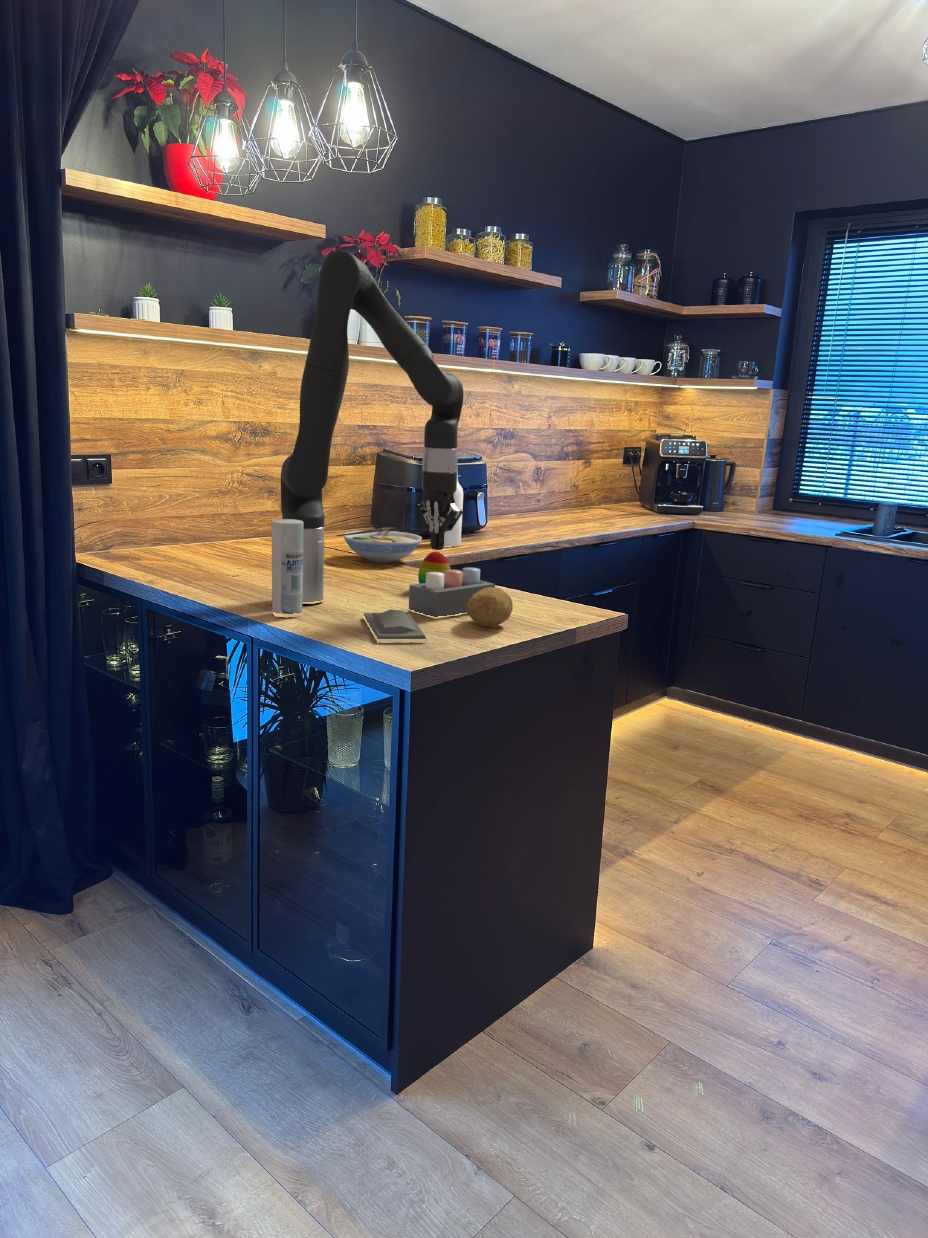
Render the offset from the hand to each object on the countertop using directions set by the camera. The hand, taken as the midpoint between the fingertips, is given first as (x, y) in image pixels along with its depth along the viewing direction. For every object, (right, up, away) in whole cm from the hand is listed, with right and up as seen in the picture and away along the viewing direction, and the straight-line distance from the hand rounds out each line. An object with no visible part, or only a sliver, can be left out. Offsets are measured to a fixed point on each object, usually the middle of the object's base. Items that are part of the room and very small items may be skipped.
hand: (437, 549), depth 192 cm
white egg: (-1, -11, +2) cm, 11 cm away
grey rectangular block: (+3, -13, +7) cm, 15 cm away
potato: (+11, -17, -5) cm, 21 cm away
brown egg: (+3, -10, +6) cm, 12 cm away
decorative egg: (-2, -9, +26) cm, 28 cm away
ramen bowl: (-18, +1, +64) cm, 66 cm away
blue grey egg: (+7, -10, +10) cm, 16 cm away
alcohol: (0, +9, +98) cm, 99 cm away
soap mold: (-8, -18, -13) cm, 24 cm away
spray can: (-32, -15, -5) cm, 35 cm away
